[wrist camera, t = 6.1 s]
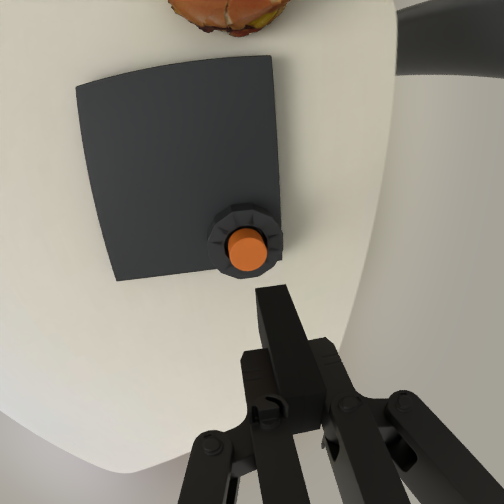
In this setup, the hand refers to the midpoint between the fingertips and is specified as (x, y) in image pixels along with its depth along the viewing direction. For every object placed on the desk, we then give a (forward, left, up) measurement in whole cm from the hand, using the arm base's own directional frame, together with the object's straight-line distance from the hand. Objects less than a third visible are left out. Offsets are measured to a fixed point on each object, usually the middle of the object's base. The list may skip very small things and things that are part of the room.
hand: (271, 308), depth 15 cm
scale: (+4, -5, -11) cm, 13 cm away
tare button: (0, 0, -8) cm, 8 cm away
